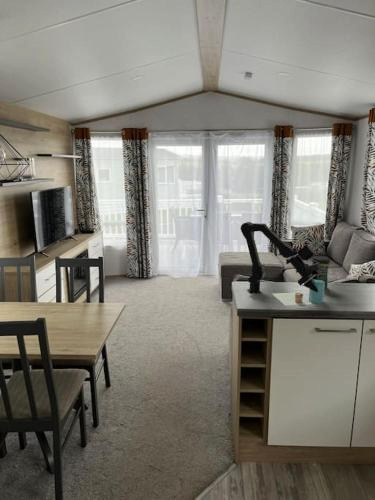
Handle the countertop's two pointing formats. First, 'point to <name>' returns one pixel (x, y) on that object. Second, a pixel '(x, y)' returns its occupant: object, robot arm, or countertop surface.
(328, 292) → the countertop surface
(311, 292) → the teal rounded cylinder
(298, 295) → the terracotta pot
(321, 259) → the coffee jar
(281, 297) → the sage mat
